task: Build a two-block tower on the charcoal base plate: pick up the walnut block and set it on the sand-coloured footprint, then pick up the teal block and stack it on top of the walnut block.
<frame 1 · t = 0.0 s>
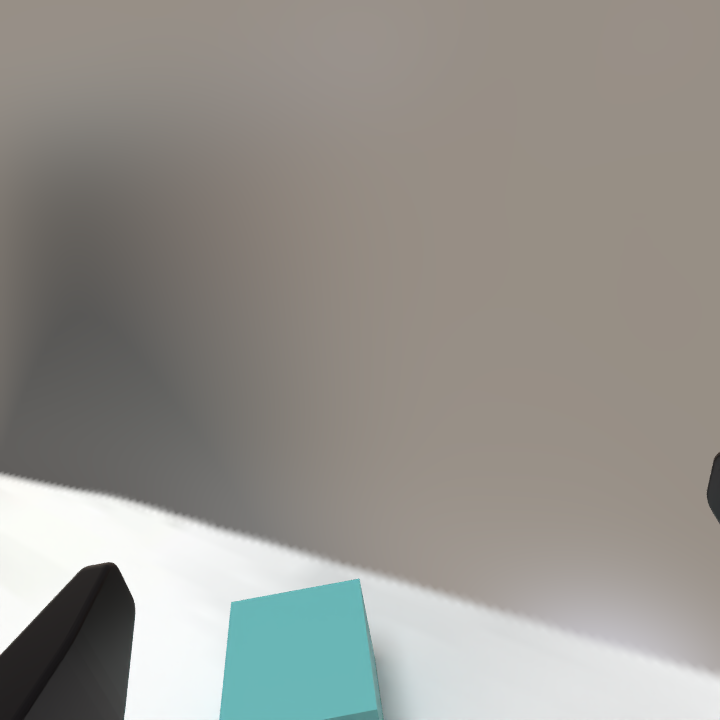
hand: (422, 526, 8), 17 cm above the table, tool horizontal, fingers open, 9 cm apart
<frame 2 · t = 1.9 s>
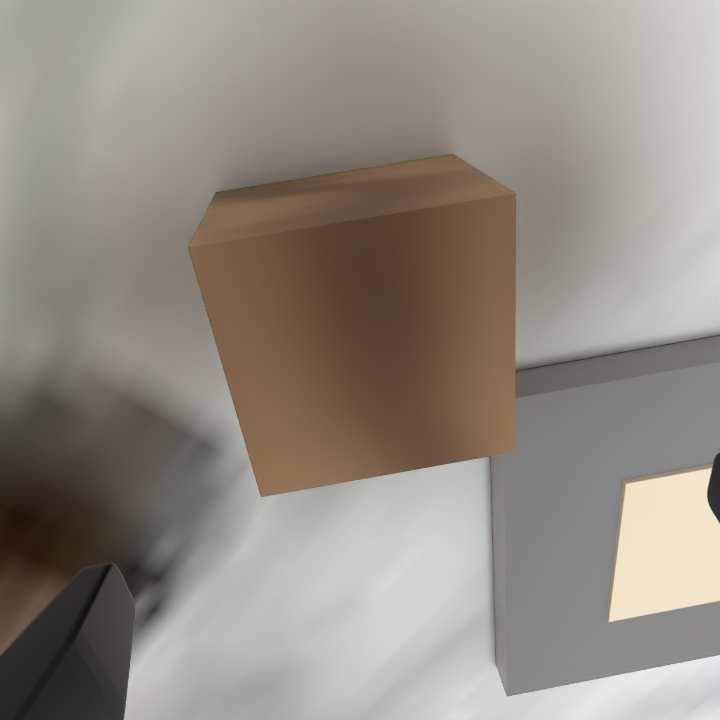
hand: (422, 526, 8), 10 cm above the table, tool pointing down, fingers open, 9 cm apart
walnut block: (351, 282, 17), on the table
base plate: (684, 509, 23), on the table
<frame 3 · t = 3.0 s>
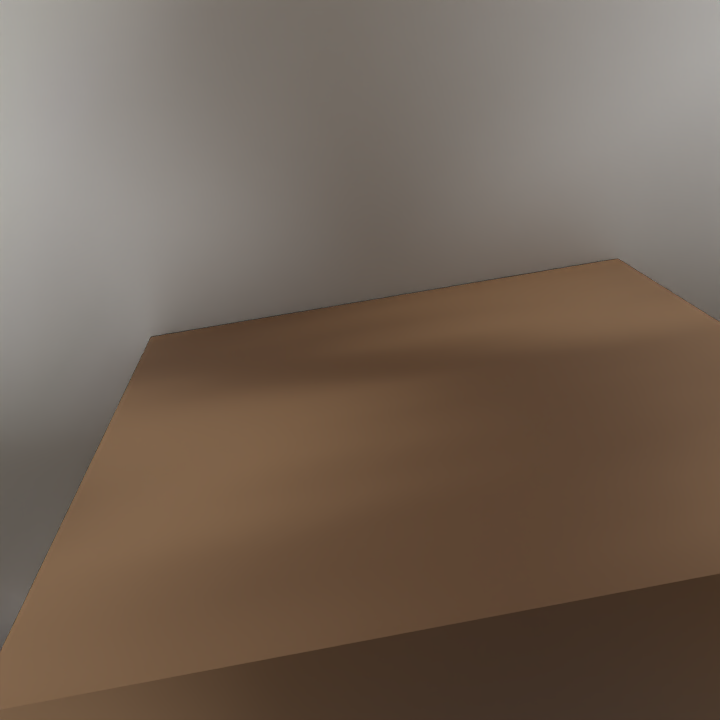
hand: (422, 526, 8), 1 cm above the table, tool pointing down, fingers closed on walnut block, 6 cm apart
walnut block: (408, 478, 9), on the table, touching gripper
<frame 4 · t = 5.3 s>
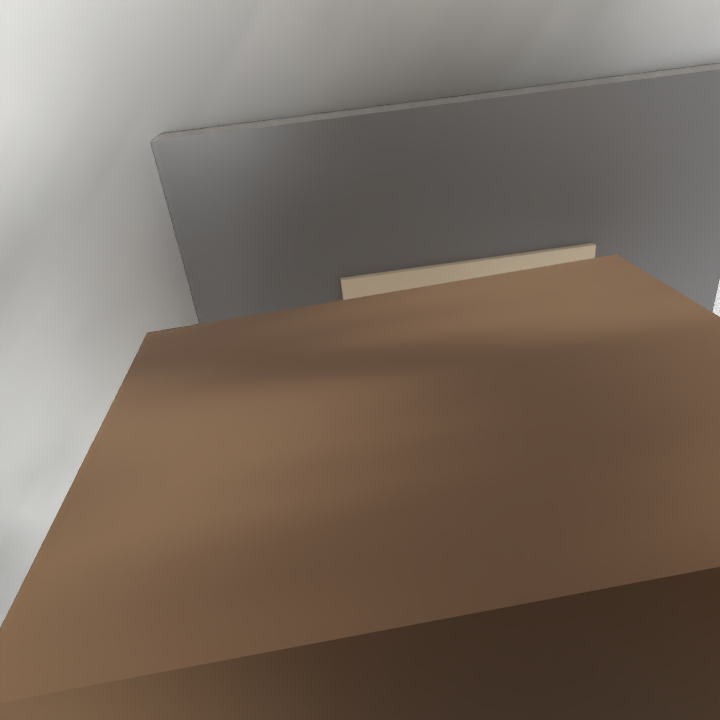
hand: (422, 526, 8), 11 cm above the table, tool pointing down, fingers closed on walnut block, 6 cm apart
walnut block: (407, 475, 9), point 10 cm above the table, touching gripper
base plate: (457, 349, 20), on the table
when the fingers open (3 cm above the table, at t = 7.6 s): walnut block stays where it is, resting on base plate.
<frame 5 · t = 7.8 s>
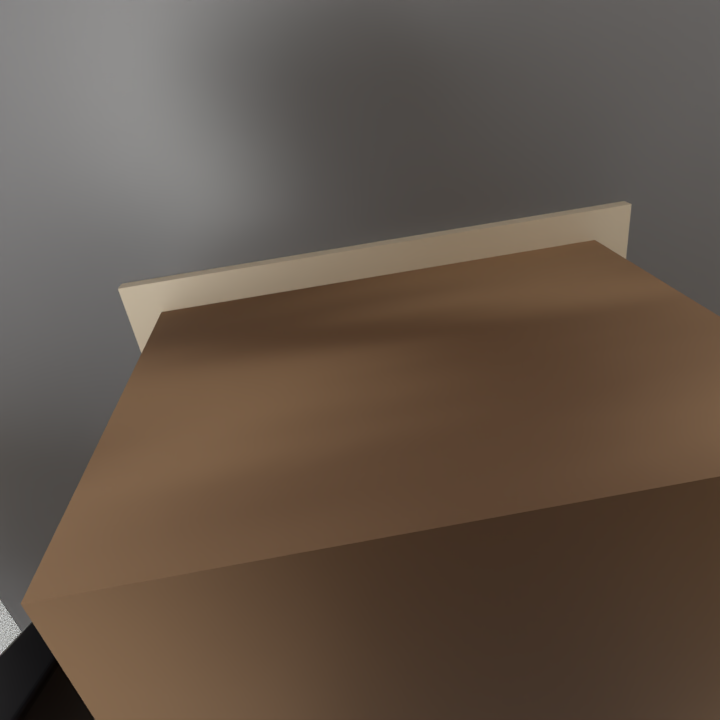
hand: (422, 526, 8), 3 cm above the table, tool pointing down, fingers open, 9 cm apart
walnut block: (402, 448, 10), point 2 cm above the table, touching base plate
base plate: (388, 399, 11), on the table
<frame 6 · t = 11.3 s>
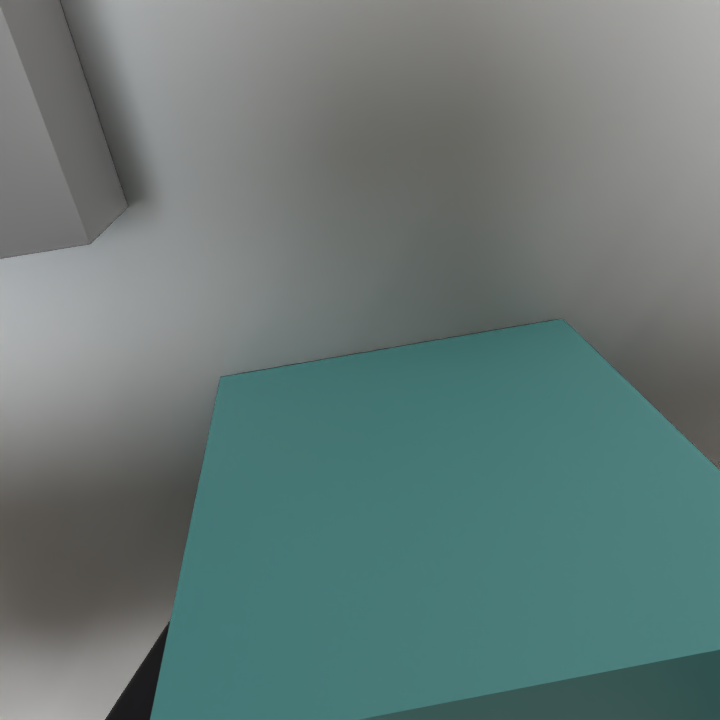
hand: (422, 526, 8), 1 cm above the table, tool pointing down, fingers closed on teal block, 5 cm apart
teal block: (408, 480, 9), on the table, touching gripper
when the fingers open (8 cm above the table, at t = 15.0 s): teal block stays where it is, resting on walnut block.
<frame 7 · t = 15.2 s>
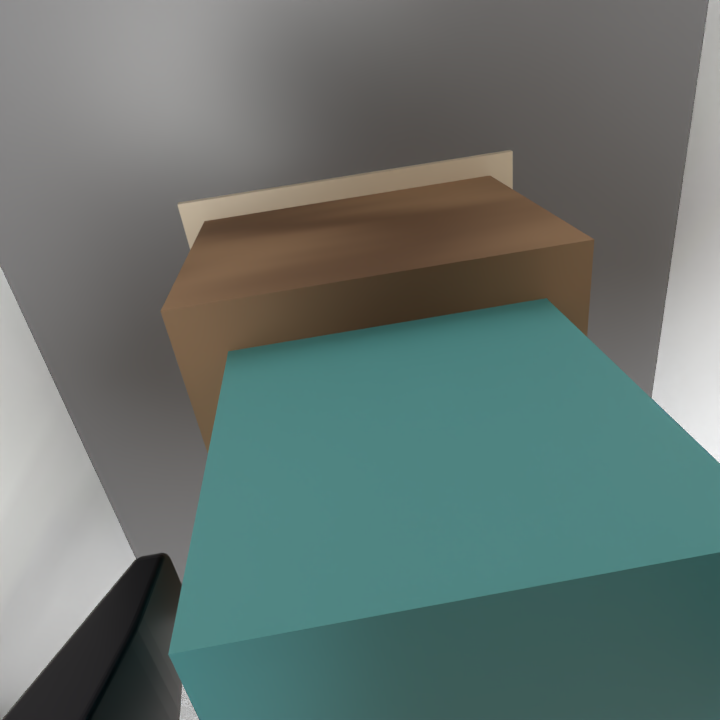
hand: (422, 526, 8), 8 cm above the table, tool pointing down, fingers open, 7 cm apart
teal block: (403, 451, 10), point 7 cm above the table, touching walnut block
walnut block: (366, 327, 14), point 2 cm above the table, touching base plate, teal block
base plate: (360, 303, 16), on the table
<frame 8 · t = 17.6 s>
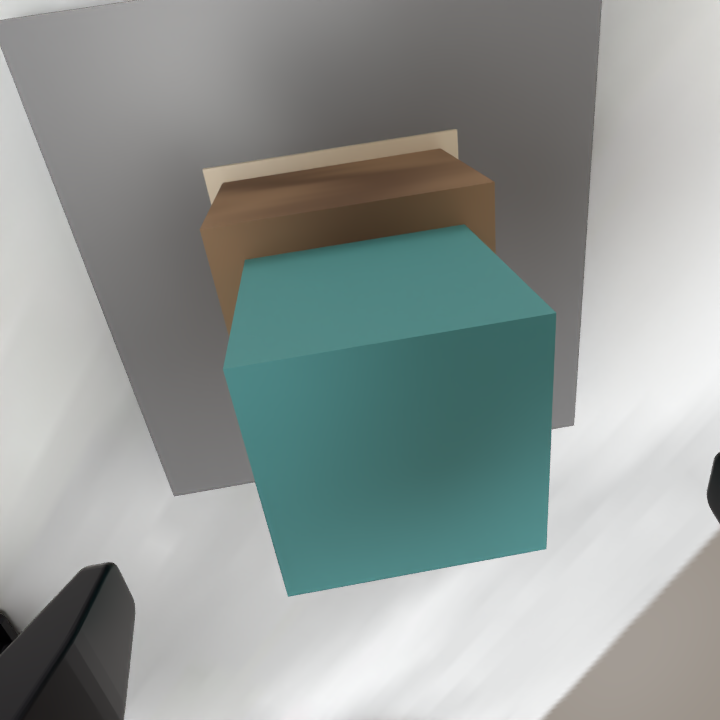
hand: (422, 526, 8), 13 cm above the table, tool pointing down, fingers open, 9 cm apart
teal block: (369, 340, 14), point 7 cm above the table, touching walnut block
walnut block: (347, 269, 18), point 2 cm above the table, touching base plate, teal block
base plate: (344, 254, 20), on the table
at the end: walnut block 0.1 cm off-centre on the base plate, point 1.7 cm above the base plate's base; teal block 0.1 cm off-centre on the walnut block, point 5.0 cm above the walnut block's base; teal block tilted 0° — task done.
